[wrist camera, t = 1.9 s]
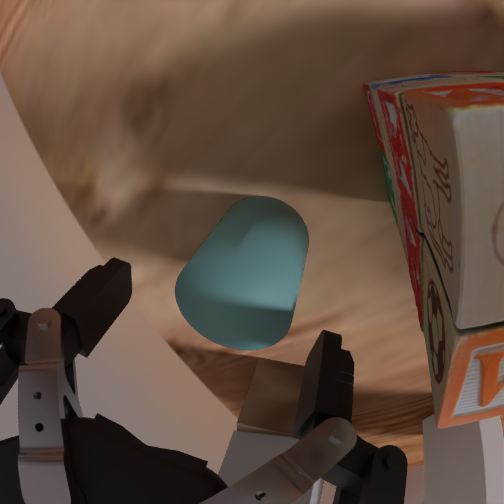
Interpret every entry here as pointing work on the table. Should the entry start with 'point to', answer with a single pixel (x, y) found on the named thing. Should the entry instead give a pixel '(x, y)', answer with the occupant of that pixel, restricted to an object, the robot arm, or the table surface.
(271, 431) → the walnut block
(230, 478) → the grey block
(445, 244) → the stack of blocks
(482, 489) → the milk
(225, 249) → the teal cylinder
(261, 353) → the table surface
